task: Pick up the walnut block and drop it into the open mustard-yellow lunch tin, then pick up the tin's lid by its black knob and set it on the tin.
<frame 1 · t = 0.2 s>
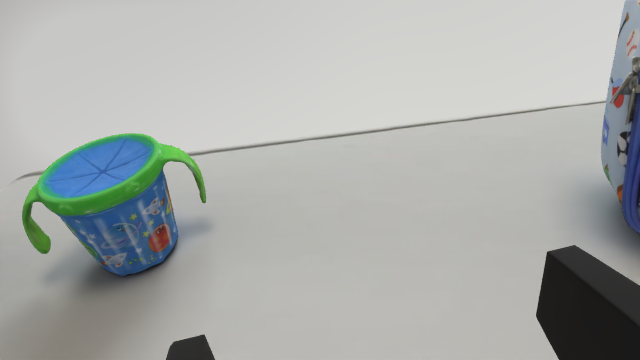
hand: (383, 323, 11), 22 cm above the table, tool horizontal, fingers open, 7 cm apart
snack cup: (141, 252, 49), on the table
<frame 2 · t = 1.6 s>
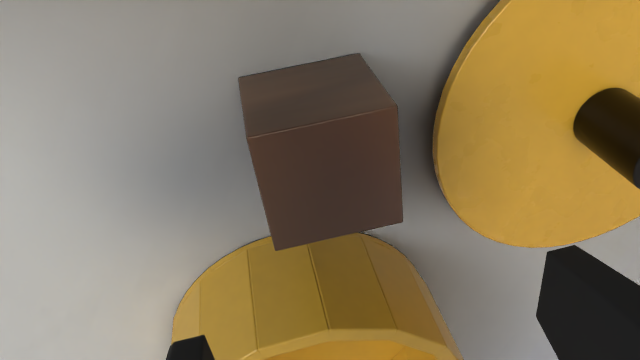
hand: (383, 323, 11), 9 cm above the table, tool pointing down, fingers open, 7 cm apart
tin: (303, 327, 24), on the table
tin lid: (593, 110, 20), point 1 cm above the table
walnut block: (308, 119, 18), on the table
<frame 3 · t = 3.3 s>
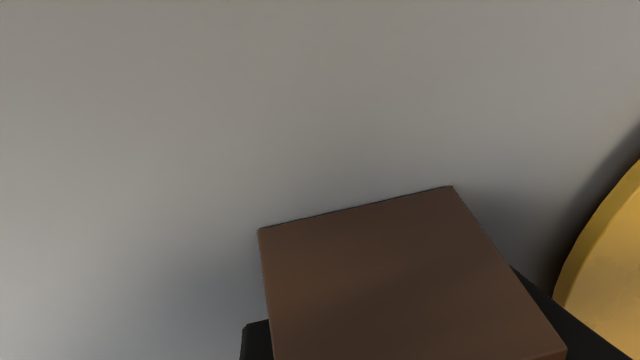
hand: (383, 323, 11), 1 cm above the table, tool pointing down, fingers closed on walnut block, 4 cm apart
walnut block: (364, 276, 12), on the table, touching gripper
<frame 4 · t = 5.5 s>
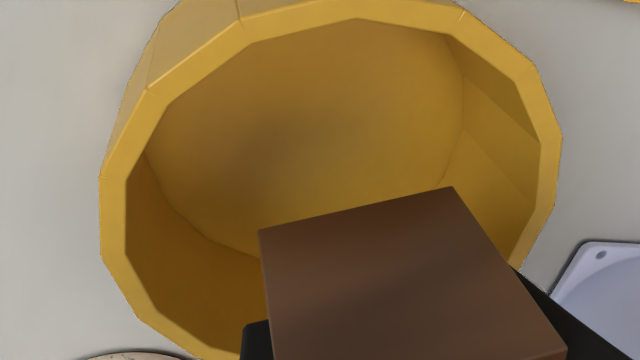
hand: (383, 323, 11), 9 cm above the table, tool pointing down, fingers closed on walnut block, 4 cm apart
tin: (310, 134, 18), on the table
walnut block: (364, 276, 12), point 7 cm above the table, touching gripper
when the fingers open (2 cm above the table, at t = 7.9 s): walnut block stays where it is, resting on tin.
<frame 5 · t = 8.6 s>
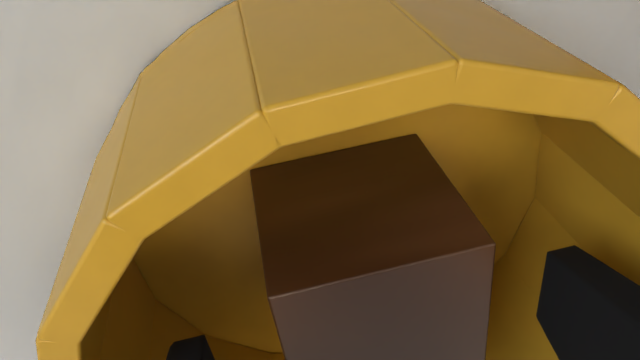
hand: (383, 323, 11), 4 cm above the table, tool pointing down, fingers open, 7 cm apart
tin: (339, 207, 14), on the table
walnut block: (343, 216, 13), resting on tin
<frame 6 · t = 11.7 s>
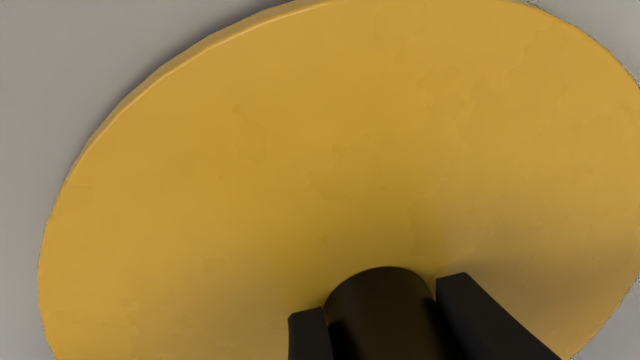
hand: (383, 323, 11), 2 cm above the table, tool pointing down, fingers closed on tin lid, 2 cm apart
tin lid: (369, 289, 11), point 1 cm above the table, touching gripper
when the fingers open (6 cm above the table, at t = 15.6 s): tin lid stays where it is, resting on tin.
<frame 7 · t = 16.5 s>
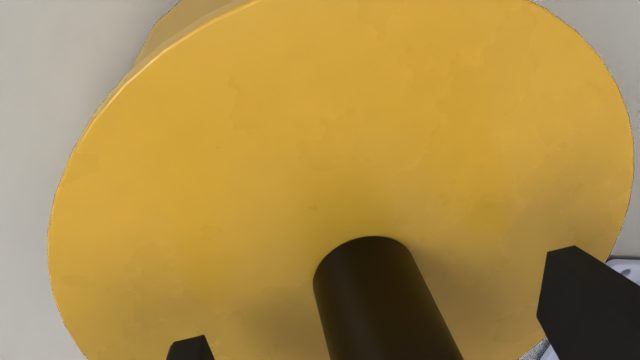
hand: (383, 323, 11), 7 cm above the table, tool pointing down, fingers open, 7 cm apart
tin: (318, 148, 16), on the table
tin lid: (357, 260, 12), point 5 cm above the table, touching tin
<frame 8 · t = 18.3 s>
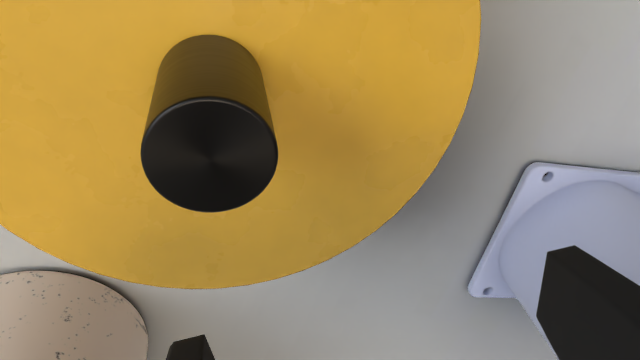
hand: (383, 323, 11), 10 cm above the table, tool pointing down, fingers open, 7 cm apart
teacup with lid: (48, 353, 24), on the table
tin lid: (211, 76, 12), point 5 cm above the table, touching tin
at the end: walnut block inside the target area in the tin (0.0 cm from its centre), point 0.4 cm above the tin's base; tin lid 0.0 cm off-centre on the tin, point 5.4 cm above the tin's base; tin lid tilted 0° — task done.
